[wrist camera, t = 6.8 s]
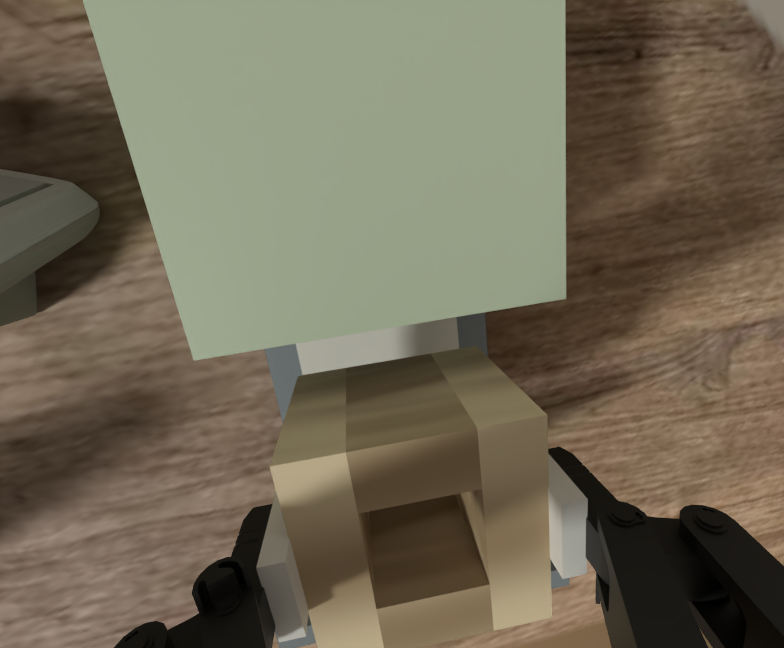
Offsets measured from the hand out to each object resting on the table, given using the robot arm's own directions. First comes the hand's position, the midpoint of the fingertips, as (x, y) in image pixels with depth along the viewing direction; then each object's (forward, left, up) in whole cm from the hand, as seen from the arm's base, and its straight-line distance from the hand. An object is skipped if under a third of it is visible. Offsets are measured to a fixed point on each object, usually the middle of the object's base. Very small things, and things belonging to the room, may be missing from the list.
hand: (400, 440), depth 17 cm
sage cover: (-14, 0, -5) cm, 15 cm away
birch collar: (0, 0, 0) cm, 0 cm away
